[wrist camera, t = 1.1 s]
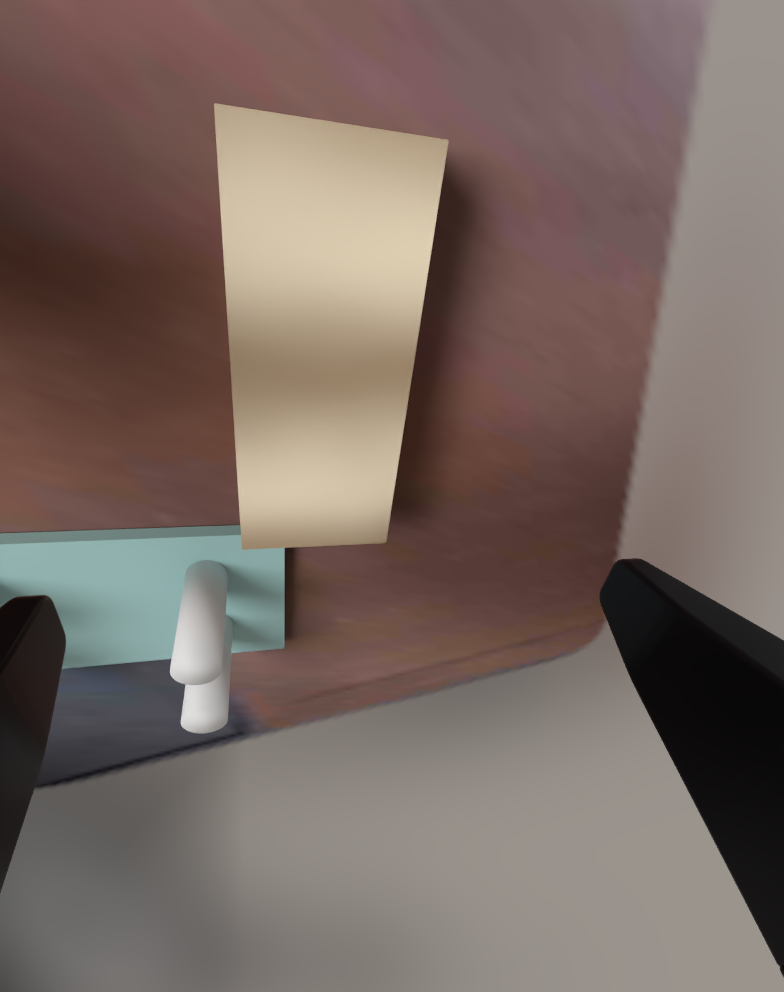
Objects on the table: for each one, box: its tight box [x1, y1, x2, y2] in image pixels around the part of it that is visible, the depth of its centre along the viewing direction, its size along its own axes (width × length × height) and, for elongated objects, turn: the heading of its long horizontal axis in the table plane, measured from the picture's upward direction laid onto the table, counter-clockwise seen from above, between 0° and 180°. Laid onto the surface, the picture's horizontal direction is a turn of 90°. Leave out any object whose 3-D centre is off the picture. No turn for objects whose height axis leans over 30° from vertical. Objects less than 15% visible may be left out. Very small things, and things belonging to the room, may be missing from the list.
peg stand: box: [0, 525, 285, 733], centre depth 18 cm, size 14×7×5 cm, turn 83°
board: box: [214, 103, 449, 550], centre depth 15 cm, size 12×5×3 cm, turn 173°
